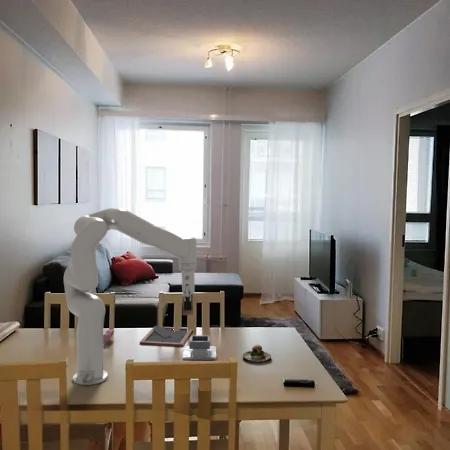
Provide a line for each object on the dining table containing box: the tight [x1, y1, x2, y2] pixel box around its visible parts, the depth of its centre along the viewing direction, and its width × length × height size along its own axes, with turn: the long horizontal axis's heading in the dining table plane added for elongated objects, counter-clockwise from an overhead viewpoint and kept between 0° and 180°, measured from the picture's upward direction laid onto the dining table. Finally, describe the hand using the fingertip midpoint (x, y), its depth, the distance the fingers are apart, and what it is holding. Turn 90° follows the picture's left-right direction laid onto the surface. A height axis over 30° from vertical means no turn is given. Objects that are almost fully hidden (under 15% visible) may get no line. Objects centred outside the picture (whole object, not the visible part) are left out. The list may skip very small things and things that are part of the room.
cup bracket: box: [182, 334, 217, 361], centre depth 206 cm, size 14×14×7 cm
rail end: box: [181, 293, 194, 316], centre depth 205 cm, size 4×4×8 cm
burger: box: [242, 344, 272, 363], centre depth 201 cm, size 12×12×8 cm
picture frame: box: [139, 325, 193, 348], centre depth 229 cm, size 20×2×25 cm
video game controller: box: [103, 329, 115, 345], centre depth 220 cm, size 10×5×7 cm, turn 179°
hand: (187, 308), depth 205 cm, fingers closed on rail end, 4 cm apart
